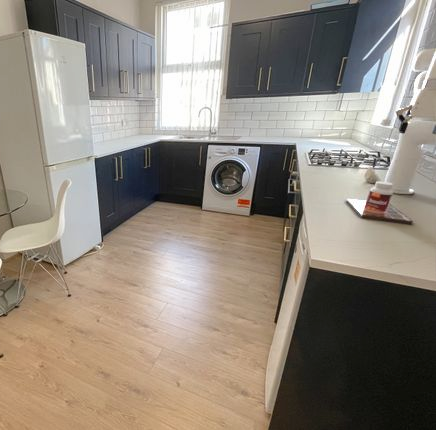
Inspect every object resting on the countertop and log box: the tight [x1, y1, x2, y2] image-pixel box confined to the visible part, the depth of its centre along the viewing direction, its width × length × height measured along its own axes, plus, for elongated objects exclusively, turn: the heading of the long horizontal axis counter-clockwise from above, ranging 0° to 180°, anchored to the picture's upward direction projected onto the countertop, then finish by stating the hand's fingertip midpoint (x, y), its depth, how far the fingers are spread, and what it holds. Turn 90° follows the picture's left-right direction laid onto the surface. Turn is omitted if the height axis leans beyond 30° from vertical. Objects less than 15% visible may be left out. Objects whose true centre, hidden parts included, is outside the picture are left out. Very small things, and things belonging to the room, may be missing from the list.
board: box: [346, 198, 414, 225], centre depth 107 cm, size 20×14×1 cm
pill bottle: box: [364, 180, 394, 214], centre depth 102 cm, size 6×6×11 cm
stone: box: [363, 166, 382, 184], centre depth 145 cm, size 10×7×10 cm
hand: (418, 133), depth 107 cm, fingers open, 9 cm apart
